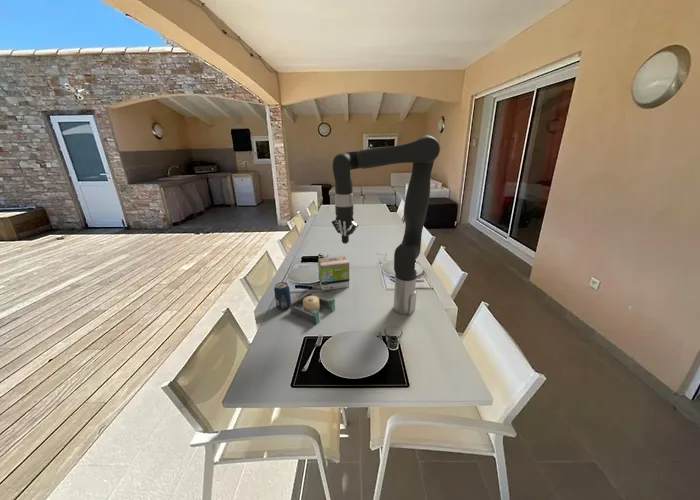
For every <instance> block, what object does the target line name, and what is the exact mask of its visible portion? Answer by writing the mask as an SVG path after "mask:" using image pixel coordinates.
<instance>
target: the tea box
mask: <svg viewBox="0 0 700 500" xmlns="http://www.w3.org/2000/svg"><path fill="white" fill-rule="evenodd" d="M317 267H318V268H317V269H318V281H319V280H320V283H319V286H320V285H321V286H320V288H321V290H322V292H323V291H328V290H336V289H343V288H345V289H346V288H350V262H349V260H348V259H347V257H346V255H339V256H331V257H324V258H323V257H322V258H318V259H317Z"/></svg>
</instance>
